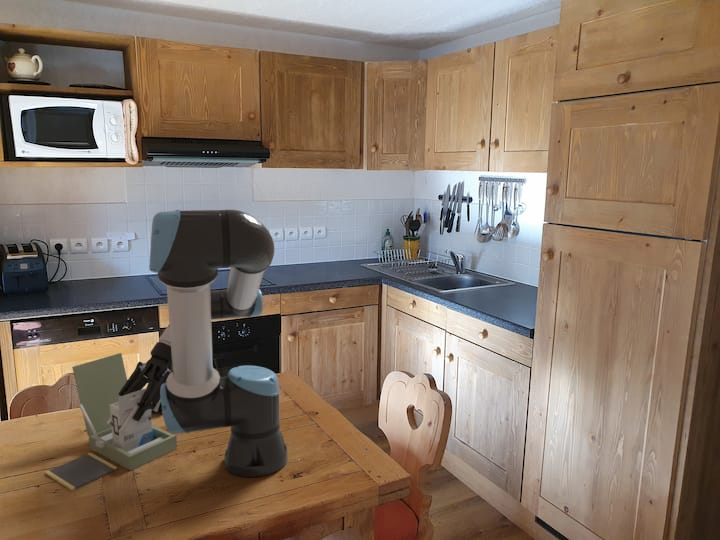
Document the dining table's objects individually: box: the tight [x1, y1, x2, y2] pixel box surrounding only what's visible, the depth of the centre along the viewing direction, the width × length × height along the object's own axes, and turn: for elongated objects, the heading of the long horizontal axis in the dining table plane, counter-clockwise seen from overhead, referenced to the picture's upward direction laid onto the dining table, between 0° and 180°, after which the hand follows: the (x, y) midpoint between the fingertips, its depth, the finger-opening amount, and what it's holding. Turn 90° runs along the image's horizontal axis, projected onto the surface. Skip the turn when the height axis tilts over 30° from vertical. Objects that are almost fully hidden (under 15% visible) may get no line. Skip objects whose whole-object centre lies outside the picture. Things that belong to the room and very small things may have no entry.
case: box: [71, 352, 178, 471], centre depth 141 cm, size 23×14×21 cm, turn 55°
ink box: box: [110, 387, 153, 452], centre depth 140 cm, size 8×5×15 cm, turn 142°
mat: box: [44, 452, 119, 492], centre depth 131 cm, size 12×11×1 cm
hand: (118, 428), depth 137 cm, fingers closed on ink box, 5 cm apart
